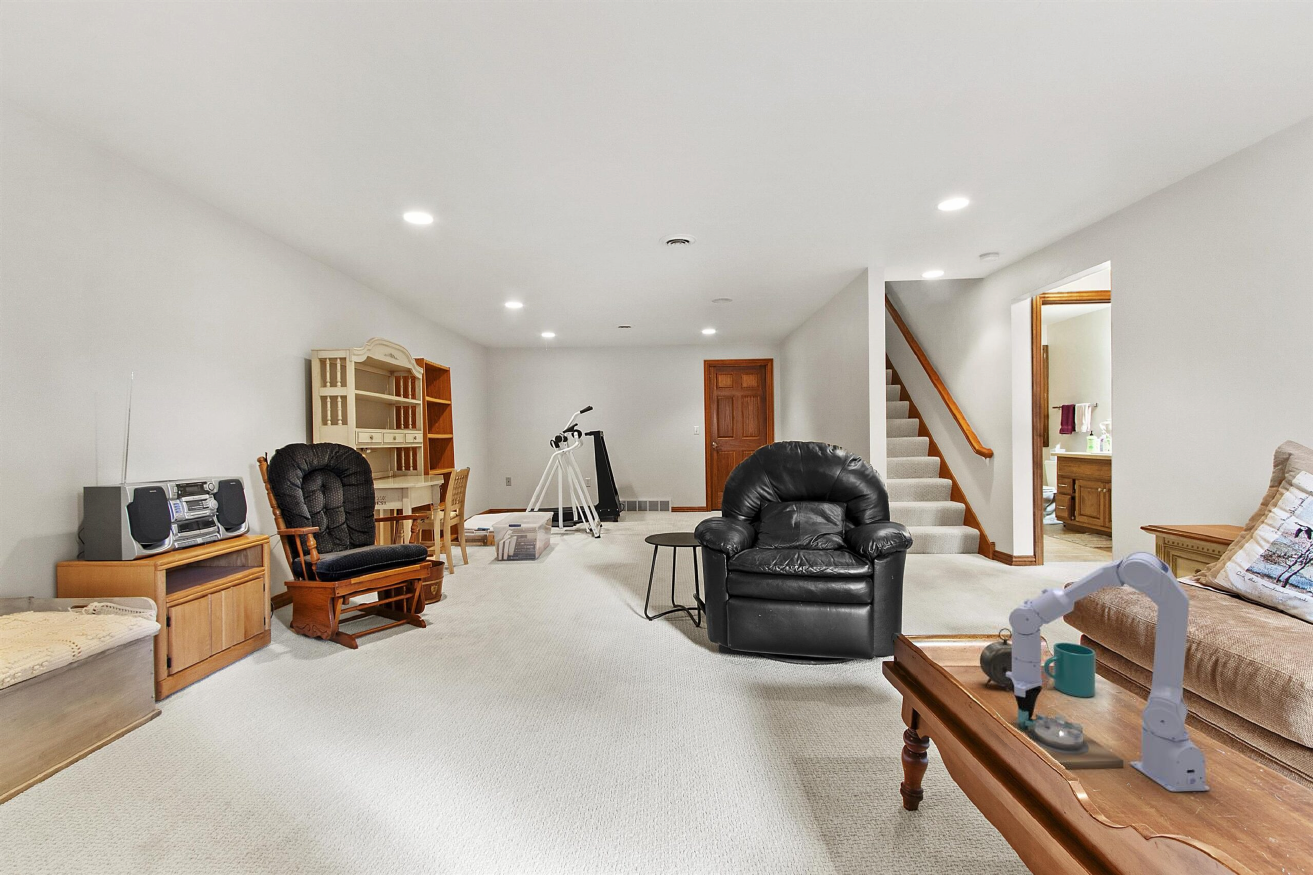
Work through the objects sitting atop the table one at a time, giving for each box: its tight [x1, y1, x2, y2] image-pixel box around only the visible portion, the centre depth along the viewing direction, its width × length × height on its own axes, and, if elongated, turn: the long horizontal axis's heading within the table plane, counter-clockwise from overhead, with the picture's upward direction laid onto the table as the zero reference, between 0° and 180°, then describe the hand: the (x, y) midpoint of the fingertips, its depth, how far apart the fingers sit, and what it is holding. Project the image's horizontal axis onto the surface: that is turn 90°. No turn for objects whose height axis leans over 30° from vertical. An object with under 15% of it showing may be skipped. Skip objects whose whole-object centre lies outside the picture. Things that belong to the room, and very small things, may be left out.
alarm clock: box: [979, 627, 1013, 692], centre depth 157 cm, size 11×5×16 cm, turn 84°
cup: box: [1043, 642, 1096, 698], centre depth 156 cm, size 9×12×11 cm
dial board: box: [1009, 722, 1124, 770], centre depth 128 cm, size 16×16×2 cm
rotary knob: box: [1016, 708, 1084, 750], centre depth 129 cm, size 12×9×4 cm
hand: (1026, 716), depth 135 cm, fingers closed
